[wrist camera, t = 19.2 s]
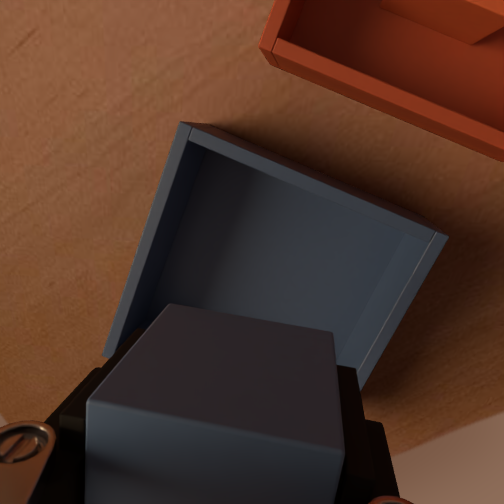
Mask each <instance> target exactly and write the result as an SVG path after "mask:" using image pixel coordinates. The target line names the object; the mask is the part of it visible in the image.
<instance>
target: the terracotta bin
mask: <svg viewBox="0 0 504 504" xmlns="http://www.w3.org/2000/svg"><path fill="white" fill-rule="evenodd" d="M381 1H382V0H275V1H274V4H273V6H272V9H271V12H270V15H269V17H268V20H267V23H266V25H265V28H264V31H263V34H262V36H261V39H260V42H259V44H258V47H259V49H260V50H261V52H262V53H263V55H264V56H265V58H266V59H267V60H268V62H269V64H270V65H272V66H275V67H277V68H280V69H282V70H284V71H287V72H289V73H291V74H294V75H296V76H299V77H301V78H303V79H306V80H308V81H310V82H313V83H315V84H318V85H320V86H322V87H325V88H327V89H329V90H332V91H334V92H337V93H339V94H341V95H344V96H346V97H348V98H351V99H353V100H356V101H358V102H360V103H363V104H365V105H367V106H370V107H372V108H375V109H377V110H379V111H382V112H384V113H386V114H389V115H391V116H394V117H396V118H398V119H401V120H403V121H405V122H408V123H410V124H413V125H415V126H417V127H420V128H422V129H424V130H427V131H429V132H432V133H434V134H436V135H439V136H441V137H443V138H446V139H448V140H451V141H453V142H455V143H458V144H460V145H462V146H465V147H467V148H470V149H472V150H474V151H477V152H479V153H481V154H484V155H486V156H489V157H491V158H493V159H496V160H498V161H501V162H504V27H503V28H501V29H499V30H497V31H496V32H494V33H492V34H490V35H489V36H487V37H485V38H483V39H482V40H480V41H478V42H476V43H475V44H473V45H469V44H466V43H464V42H461V41H459V40H457V39H454V38H452V37H449V36H447V35H445V34H442V33H440V32H437V31H435V30H433V29H430V28H428V27H425V26H423V25H420V24H418V23H416V22H413V21H411V20H408V19H406V18H404V17H401V16H399V15H396V14H394V13H391V12H389V11H387V10H384V9H382V8H380V7H379V6H380V3H381Z"/></svg>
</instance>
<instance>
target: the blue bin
mask: <svg viewBox="0 0 504 504" xmlns="http://www.w3.org/2000/svg"><path fill="white" fill-rule="evenodd" d="M448 238H449V236H448V235H447V234H445V233H444V232H443V231H441V230H440V229H439V228H438V227H436V226H435V225H434V224H432V223H431V222H430V221H429V220H427V219H426V218H425V217H423V216H421V215H419V214H417V213H414V212H412V211H410V210H407V209H405V208H403V207H400V206H398V205H396V204H393V203H391V202H389V201H386V200H384V199H382V198H379V197H377V196H375V195H372V194H370V193H368V192H365V191H363V190H360V189H358V188H356V187H353V186H351V185H349V184H346V183H344V182H342V181H339V180H337V179H335V178H332V177H330V176H328V175H325V174H323V173H321V172H318V171H316V170H314V169H311V168H309V167H307V166H304V165H302V164H300V163H297V162H295V161H293V160H290V159H288V158H286V157H283V156H281V155H279V154H276V153H274V152H272V151H269V150H267V149H265V148H262V147H260V146H258V145H255V144H253V143H250V142H248V141H246V140H243V139H241V138H239V137H236V136H234V135H232V134H229V133H227V132H225V131H222V130H220V129H218V128H215V127H213V126H211V125H208V124H204V123H193V122H182V121H180V122H179V125H178V128H177V131H176V134H175V137H174V140H173V143H172V146H171V149H170V152H169V155H168V158H167V161H166V164H165V167H164V170H163V173H162V176H161V179H160V182H159V185H158V188H157V191H156V194H155V197H154V200H153V203H152V206H151V209H150V212H149V215H148V218H147V221H146V224H145V227H144V230H143V233H142V236H141V239H140V242H139V245H138V248H137V251H136V254H135V257H134V260H133V263H132V266H131V269H130V272H129V275H128V278H127V281H126V284H125V287H124V290H123V293H122V296H121V299H120V302H119V305H118V308H117V311H116V314H115V317H114V320H113V323H112V326H111V329H110V332H109V335H108V338H107V341H106V344H105V347H104V350H103V353H102V356H104V357H107V358H109V359H110V358H111V357H112V355H113V354H114V353H115V352H116V351H117V350H118V349H119V348H120V347H121V345H122V344H123V343H124V342H125V341H126V340H127V339H128V338H129V337H130V336H131V334H132V333H133V332H134V331H135V330H136V329H137V328H141V329H146V330H147V329H148V327H149V326H150V325H151V324H152V323H153V322H154V320H155V319H156V318H157V317H158V316H159V315H160V313H161V312H162V311H163V310H164V309H165V307H166V306H167V305H168V304H171V303H172V304H177V305H183V306H189V307H194V308H200V309H206V310H211V311H217V312H223V313H228V314H234V315H240V316H245V317H251V318H257V319H262V320H268V321H274V322H279V323H285V324H291V325H296V326H302V327H308V328H313V329H319V330H325V331H330V332H332V333H333V335H334V344H335V354H336V364H337V365H342V366H347V367H353V368H356V371H357V377H358V383H359V388H360V391H361V390H362V388H363V386H364V385H365V383H366V381H367V379H368V378H369V376H370V374H371V372H372V371H373V369H374V367H375V365H376V364H377V362H378V360H379V358H380V357H381V355H382V353H383V351H384V350H385V348H386V346H387V344H388V343H389V341H390V339H391V338H392V336H393V334H394V332H395V331H396V329H397V327H398V325H399V324H400V322H401V320H402V318H403V317H404V315H405V313H406V311H407V310H408V308H409V306H410V304H411V303H412V301H413V299H414V297H415V296H416V294H417V292H418V290H419V289H420V287H421V285H422V284H423V282H424V280H425V278H426V277H427V275H428V273H429V271H430V270H431V268H432V266H433V264H434V263H435V261H436V259H437V257H438V256H439V254H440V252H441V250H442V249H443V247H444V245H445V243H446V242H447V240H448Z"/></svg>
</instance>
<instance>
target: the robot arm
mask: <svg viewBox="0 0 504 504" xmlns="http://www.w3.org/2000/svg"><path fill="white" fill-rule="evenodd" d="M145 331H146V329H141V328H137V329H136V330H135V331H134V332H133V333H132V334H131V336H130V337H129V338H128V339H127V340H126V341H125V342H124V343H123V344H122V345H121V347H120V348H119V349H118V350H117V351H116V352H115V353H114V354H113V355H112V357H111V358H110V359H109V360H108V361H107V362H106V363H105V364H104V365H103V366H102V368H99V367H98V368H95V369H93V370H92V371H91V372H90V373H89V374H88V375H87V377H86V378H85V379H84V380H83V381H82V382H81V383H80V384H79V385H78V386H77V387H76V388H75V389H74V390H73V392H72V393H71V394H70V395H69V396H68V397H67V398H66V399H65V400H64V401H63V402H62V403H61V404H60V405H59V407H58V408H57V409H56V410H55V411H54V412H53V413H52V414H51V415H50V416H49V417H48V418H47V419H46V421H45V422H44V423H43V422H40V421H33V420H29V421H19V422H14V423H10V424H8V425H5V426H3V427H0V504H84V496H85V445H86V402H87V400H88V398H89V397H90V396H91V394H92V393H93V392H94V391H95V390H96V389H97V387H98V386H99V385H100V384H101V383H102V381H103V380H104V379H105V378H106V377H107V376H108V374H109V373H110V372H111V371H112V370H113V369H114V367H115V366H116V365H117V364H118V363H119V362H120V360H121V359H122V358H123V357H124V356H125V354H126V353H127V352H128V351H129V350H130V349H131V347H132V346H133V345H134V344H135V343H136V342H137V340H138V339H139V338H140V337H141V336H142V334H143V333H144V332H145ZM337 374H338V385H339V395H340V405H341V415H342V426H343V436H344V446H345V457H344V462H343V466H342V470H341V475H340V479H339V483H338V488H337V492H336V497H335V501H334V504H413V503H411V502H409V501H407V500H405V499H403V498H400V495H399V491H398V486H397V482H396V478H395V474H394V470H393V465H392V461H391V457H390V453H389V448H388V444H387V440H386V436H385V431H384V427H383V425H382V423H381V422H376V421H371V420H366V419H365V416H364V411H363V405H362V399H361V394H360V388H359V383H358V377H357V371H356V368H353V367H347V366H342V365H337Z"/></svg>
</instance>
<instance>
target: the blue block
mask: <svg viewBox="0 0 504 504" xmlns="http://www.w3.org/2000/svg"><path fill="white" fill-rule="evenodd" d="M344 457H345V446H344V436H343V426H342V415H341V405H340V395H339V385H338V374H337V364H336V354H335V344H334V335H333V333H332V332H330V331H325V330H319V329H313V328H308V327H302V326H296V325H291V324H285V323H279V322H274V321H268V320H262V319H257V318H251V317H245V316H240V315H234V314H228V313H223V312H217V311H211V310H206V309H200V308H194V307H189V306H183V305H177V304H172V303H171V304H168V305H167V306H166V307H165V309H164V310H163V311H162V312H161V313H160V315H159V316H158V317H157V318H156V319H155V320H154V322H153V323H152V324H151V325H150V326H149V327H148V329H147V330H146V331H145V332H144V333H143V334H142V336H141V337H140V338H139V339H138V340H137V342H136V343H135V344H134V345H133V346H132V347H131V349H130V350H129V351H128V352H127V353H126V354H125V356H124V357H123V358H122V359H121V360H120V362H119V363H118V364H117V365H116V366H115V367H114V369H113V370H112V371H111V372H110V373H109V374H108V376H107V377H106V378H105V379H104V380H103V381H102V383H101V384H100V385H99V386H98V387H97V389H96V390H95V391H94V392H93V393H92V394H91V396H90V397H89V398H88V400H87V402H86V445H85V496H84V504H334V501H335V497H336V492H337V488H338V483H339V479H340V475H341V470H342V466H343V462H344Z"/></svg>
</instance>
